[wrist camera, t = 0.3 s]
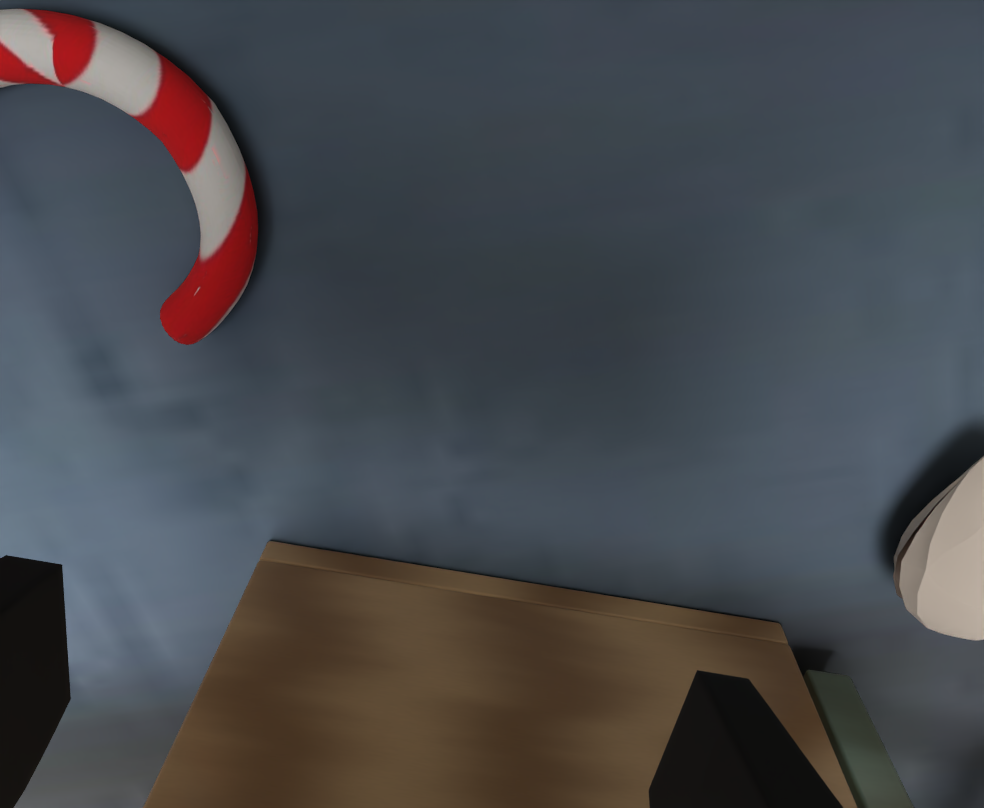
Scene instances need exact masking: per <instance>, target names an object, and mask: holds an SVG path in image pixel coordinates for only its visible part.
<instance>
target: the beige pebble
mask: <svg viewBox="0 0 984 808" xmlns="http://www.w3.org/2000/svg"><path fill="white" fill-rule="evenodd" d="M894 568H895V570H894V575H893V579H894V583H895V588H896V593H897V595H898V596H899V597H901V598H902V599H903V601H904V604H905V608H906V609H907V610H908V611H909V612H910V613H911V614H912V615H913V616H914V617H915V618H917V619H918V620H919V621H920V622H921V623H922V624H923V625H924V626H925V627H926V628H929V629H931V630H934V631H936V632H939V633H942V634H945V635H950V636H954V637H959V638H963V639H968V640H984V456H983V457H982V458H980V459H979V460H978V461H977V462H975V463H974V464H973V465H972V466H971V467H970V468H969V469H968V470H967V471H965V472H964V473H963V474H962V475H961V476H960V477H959V478H958V479H957V480H956V481H954V482H953V483H952V484H951V485H950V486H948V487H947V488H946V489H945V490H944V491H942V492H941V493H940V494H939V495H938V496H936V497H935V498H934V499H933V500H932V501H931V502H930V503H929V504H928V505H927V506H926V507H925V508H924V509H923V510H922V511H921V512H920V513H919V514H918V515H917V516H916V517H915V518H914V519H913V520H912V521H911V523H910V524H909V526H908V527H907V529H906V531H905V532H904V534H903V535H902V537H901V540H900V542H899V545H898V548H897V550H896V553H895V556H894Z"/></svg>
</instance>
